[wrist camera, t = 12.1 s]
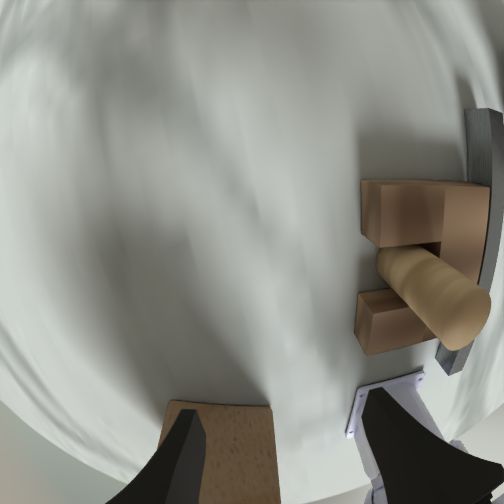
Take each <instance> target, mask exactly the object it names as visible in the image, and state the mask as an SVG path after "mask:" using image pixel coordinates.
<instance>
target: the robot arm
mask: <svg viewBox="0 0 504 504" xmlns="http://www.w3.org/2000/svg"><path fill="white" fill-rule="evenodd" d="M424 376H425V372H424V371H419V372H416V373H413V374H409V375H406V376H403V377H399V378H396V379H392V380H388V381H385V382H381V383H377V384H373V385H368V386H364V387H361V388H359V389H358V390H357V393H356V397H355V402H354V406H353V410H352V413H351V417H350V421H349V425H348V428H347V432H346V438H353V437H354V438H355V441H356V444H357V447H358V451H359V454H360V457H361V460H362V463H363V467H364V470H365V472H366V474H367V476H368V477H369V478H370V479H371V483H372V486H373V488H372V489H370V490H369V491H368V493H367V496H366V499H365V502H364V504H504V494H502V495H501V496H500V497H498V498H497V499H496V500H494V501H493V502H491V501H490V499H491V498H492V497H493V496H492V494H491V492H492V491H493V490H494V489H496V488H497V487H498V486H499V485H501V484H502V483H503V482H504V468H503V466H502V465H501V464H499V463H495V462H491V461H487V460H484V459H481V458H478V457H475V456H472V455H470V454H469V453H468V452H467V450H466V448H465V447H464V445H463V443H462V442H461V441H459V440H456V441H455V440H451V441H450V442H449V443H447V442H446V441H445V440H444V438H443V436H442V434H441V432H440V431H439V429H438V427H437V425H436V423H435V422H434V420H433V418H432V416H431V415H430V413H429V411H428V409H427V408H426V406H425V404H424V403H423V401H422V399H421V397H420V396H419V394H418V391H419V389H420V386H421V384H422V381H423V379H424ZM205 456H206V433H205V430H204V428H203V425H202V423H201V420H200V418H199V415H198V413H197V410H196V409H181V410H180V412H179V414H178V416H177V418H176V420H175V421H174V423H173V425H172V427H171V429H170V430H169V432H168V434H167V435H166V437H165V438H164V440H163V442H162V443H161V445H160V446H159V448H158V449H157V451H156V452H155V453H154V455H153V456H152V457H151V459H150V460H149V462H148V463H147V464H146V465H145V467H144V468H143V469H142V470H141V471H140V473H139V474H138V475H137V476H136V477H135V478H134V479H133V480H132V481H131V482H130V483H129V484H128V485H127V486H126V487H125V488H124V489H123V490H122V491H121V492H120V493H118V494H117V495H116V496H115V497H113V498H112V499H111V500H109V501H108V502H107V503H106V504H199V494H200V488H201V482H202V476H203V469H204V463H205Z"/></svg>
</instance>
